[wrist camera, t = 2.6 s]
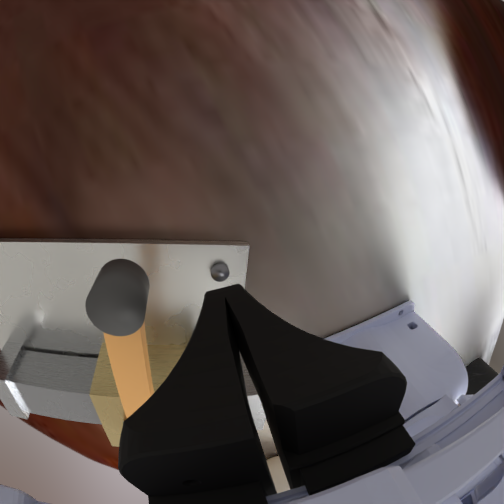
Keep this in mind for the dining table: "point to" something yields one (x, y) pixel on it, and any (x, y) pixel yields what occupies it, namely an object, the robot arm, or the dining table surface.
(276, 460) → the baseball
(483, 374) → the travel mug
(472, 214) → the dining table surface
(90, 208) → the dining table surface
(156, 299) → the mounting plate
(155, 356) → the pipe valve
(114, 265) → the lever
